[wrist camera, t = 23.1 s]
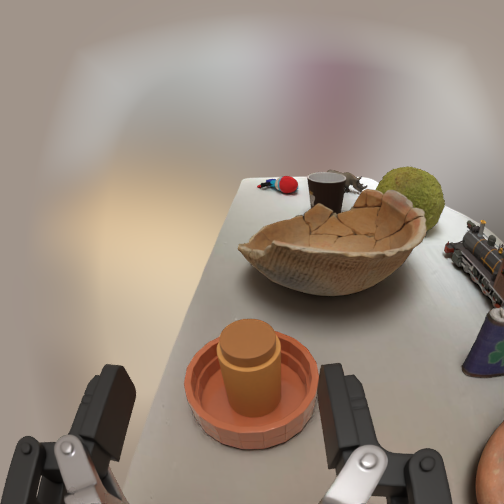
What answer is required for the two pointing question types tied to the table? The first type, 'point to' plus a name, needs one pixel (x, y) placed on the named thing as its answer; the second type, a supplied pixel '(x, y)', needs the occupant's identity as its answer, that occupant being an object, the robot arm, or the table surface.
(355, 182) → the rhino figurine
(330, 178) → the coffee mug
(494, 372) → the flask
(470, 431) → the table surface
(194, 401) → the terracotta bowl
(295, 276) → the ceramic bowl
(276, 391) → the orange lidded canister
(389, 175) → the fruit
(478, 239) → the toy train
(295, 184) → the toy figure
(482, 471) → the ceramic jug
